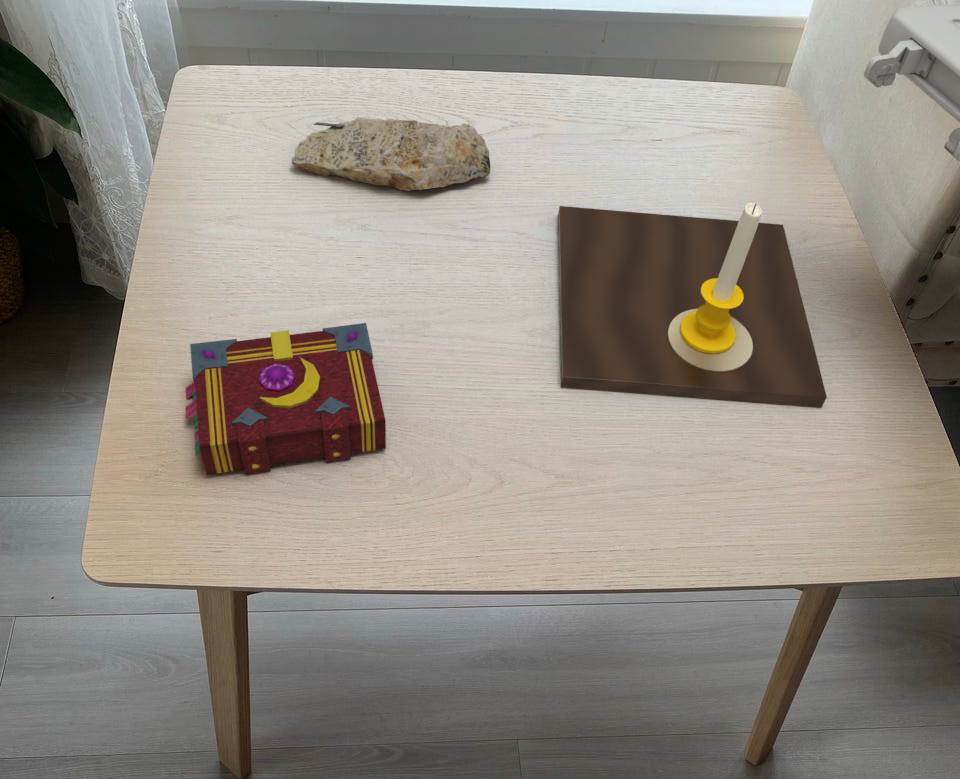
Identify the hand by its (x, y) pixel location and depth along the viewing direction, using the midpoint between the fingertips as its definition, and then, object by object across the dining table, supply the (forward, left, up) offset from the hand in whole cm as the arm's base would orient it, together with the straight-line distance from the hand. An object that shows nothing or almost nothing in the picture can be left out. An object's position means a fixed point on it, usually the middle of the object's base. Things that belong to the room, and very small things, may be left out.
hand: (911, 107), depth 69 cm
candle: (+7, +5, -26) cm, 28 cm away
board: (+12, +2, -28) cm, 30 cm away
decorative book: (+25, +40, -28) cm, 55 cm away
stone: (+46, +11, -28) cm, 55 cm away
